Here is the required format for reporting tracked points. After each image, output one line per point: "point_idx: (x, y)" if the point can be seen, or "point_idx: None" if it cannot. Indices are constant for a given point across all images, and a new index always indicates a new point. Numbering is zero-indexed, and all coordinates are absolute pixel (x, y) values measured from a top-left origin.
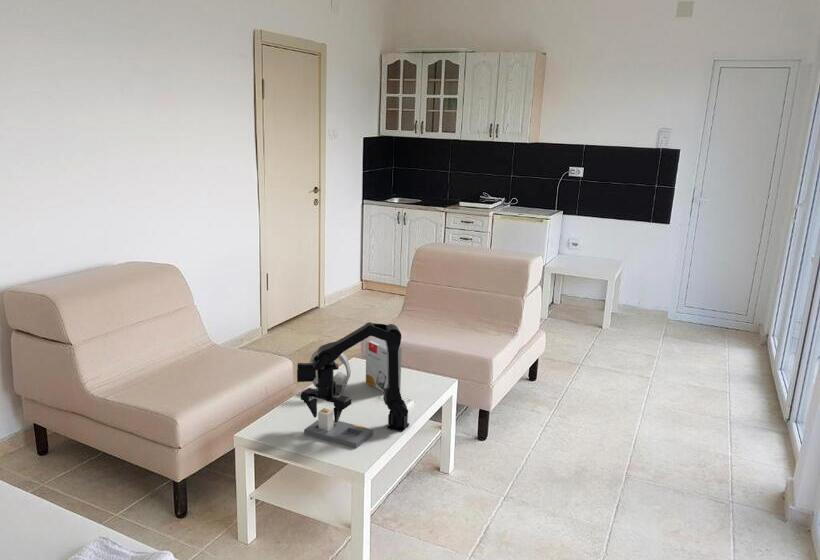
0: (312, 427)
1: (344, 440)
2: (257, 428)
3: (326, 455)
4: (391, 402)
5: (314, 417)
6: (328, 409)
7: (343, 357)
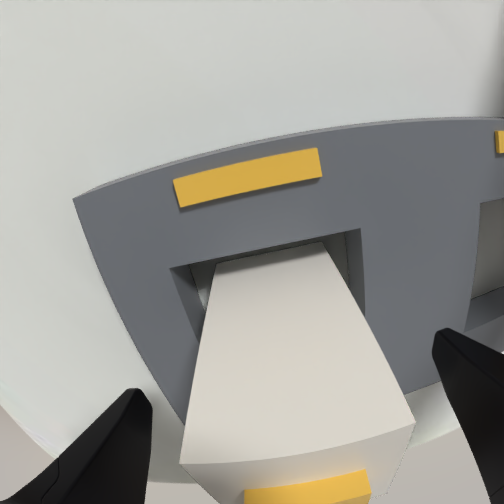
0: None
1: (498, 351)
2: (31, 427)
3: (433, 424)
4: None
5: (146, 410)
6: (297, 458)
7: None
